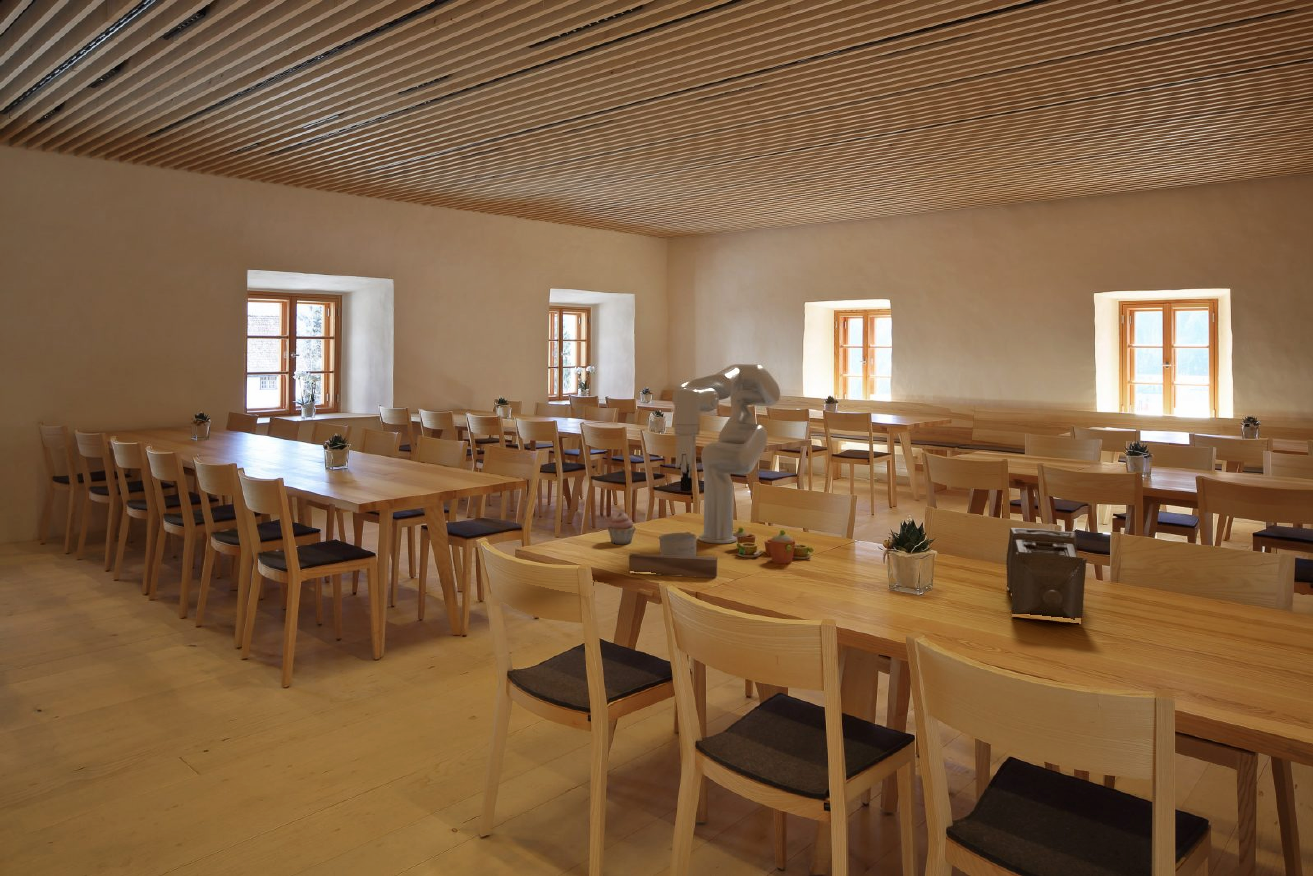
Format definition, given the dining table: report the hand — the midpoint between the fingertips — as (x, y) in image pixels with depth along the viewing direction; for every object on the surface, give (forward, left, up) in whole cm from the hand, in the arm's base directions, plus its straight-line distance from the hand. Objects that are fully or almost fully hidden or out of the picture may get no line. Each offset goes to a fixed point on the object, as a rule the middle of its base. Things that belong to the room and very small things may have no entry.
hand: (686, 490), depth 274 cm
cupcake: (-10, -22, -19) cm, 31 cm away
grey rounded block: (+11, 0, -19) cm, 22 cm away
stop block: (+26, 0, -19) cm, 33 cm away
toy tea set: (-1, +25, -20) cm, 31 cm away
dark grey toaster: (+45, +92, -20) cm, 104 cm away
